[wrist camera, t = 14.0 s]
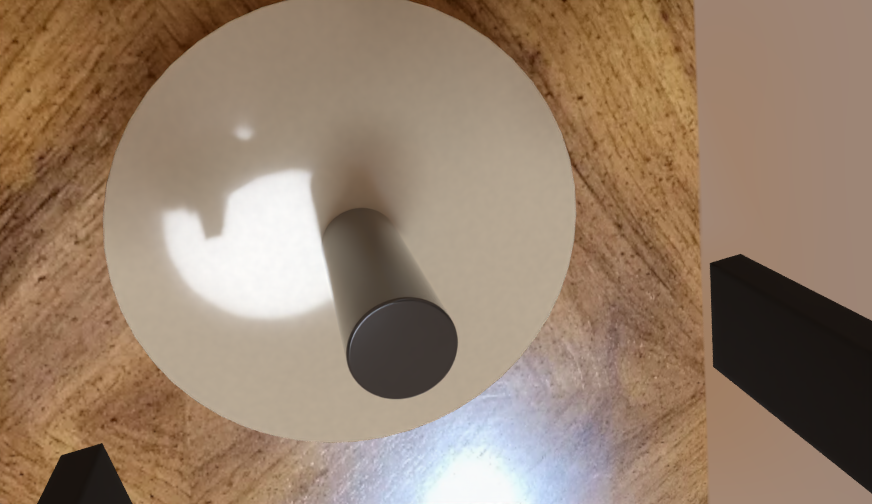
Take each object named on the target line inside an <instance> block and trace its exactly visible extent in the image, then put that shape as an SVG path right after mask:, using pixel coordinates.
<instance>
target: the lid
mask: <svg viewBox="0 0 872 504" xmlns="http://www.w3.org/2000/svg"><path fill="white" fill-rule="evenodd" d="M575 221H576V202H575V185H574V179H573V174H572V169H571V163H570V158H569V155H568V152H567V149H566V146H565V142H564V139H563V136H562V133H561V131H560V129H559V126H558V124H557V122H556V120H555V118H554V116H553V114H552V112H551V110H550V108H549V106H548V104H547V103H546V101H545V100H544V98H543V97H542V95H541V94H540V92H539V91H538V89H537V87H536V86H535V84H534V83H533V81H532V80H531V79H530V78H529V77H528V76H527V75H526V73H525V72H524V71H523V70H522V69H521V68H520V67H519V65H518V64H517V63H516V62H515V61H514V60H513V59H512V58H511V57H510V56H509V55H508V54H507V53H505V52H504V51H503V50H502V49H501V48H500V47H498V46H497V45H496V44H495V43H494V42H493V41H491V40H490V39H489V38H488V37H486V36H484V35H483V34H481V33H480V32H478V31H477V30H475V29H473V28H472V27H470V26H469V25H467V24H466V23H464V22H463V21H461V20H458V19H456V18H454V17H452V16H450V15H447V14H445V13H443V12H441V11H439V10H437V9H434V8H432V7H429V6H425V5H422V4H419V3H415V2H412V1H408V0H285V1H282V2H278V3H275V4H271V5H268V6H264V7H261V8H259V9H256V10H254V11H252V12H250V13H247V14H245V15H243V16H241V17H238V18H236V19H234V20H232V21H229V22H228V23H226V24H224V25H223V26H221V27H220V28H218V29H217V30H215V31H213V32H212V33H210V34H209V35H207V36H205V37H204V38H202V39H201V40H199V41H198V42H196V43H195V44H194V45H193V46H192V47H191V48H189V49H188V50H187V51H186V52H185V53H184V54H182V55H181V56H180V57H179V58H178V59H177V60H175V61H174V62H173V63H172V64H171V65H170V66H169V67H168V68H167V69H166V71H165V72H164V73H163V74H162V75H161V76H160V78H159V79H158V80H157V81H156V82H155V83H154V84H153V86H152V87H151V88H150V89H149V90H148V91H147V93H146V95H145V96H144V98H143V99H142V101H141V102H140V104H139V106H138V107H137V109H136V110H135V112H134V114H133V115H132V117H131V118H130V120H129V122H128V124H127V126H126V129H125V131H124V133H123V135H122V138H121V140H120V142H119V144H118V147H117V149H116V151H115V154H114V158H113V162H112V166H111V169H110V173H109V177H108V180H107V184H106V192H105V201H104V210H103V236H104V252H105V257H106V262H107V267H108V272H109V278H110V282H111V285H112V287H113V290H114V293H115V296H116V299H117V301H118V304H119V307H120V310H121V312H122V314H123V316H124V317H125V319H126V321H127V323H128V325H129V327H130V329H131V331H132V333H133V335H134V336H135V338H136V339H137V341H138V342H139V343H140V345H141V346H142V348H143V349H144V350H145V352H146V353H147V354H148V356H149V357H150V359H151V360H152V361H153V362H154V363H155V365H156V366H157V367H158V368H159V369H160V370H161V371H162V372H163V373H164V374H165V375H166V376H167V377H168V378H169V379H170V380H171V381H172V382H173V383H174V384H175V385H176V386H178V387H179V388H180V389H181V390H183V391H184V392H185V393H186V394H188V395H189V396H190V397H191V398H193V399H194V400H195V401H197V402H198V403H200V404H202V405H203V406H205V407H207V408H208V409H210V410H212V411H213V412H215V413H217V414H218V415H220V416H222V417H224V418H226V419H229V420H231V421H233V422H235V423H237V424H240V425H242V426H244V427H246V428H250V429H253V430H256V431H259V432H263V433H266V434H269V435H272V436H277V437H282V438H288V439H293V440H299V441H309V442H323V443H337V442H357V441H364V440H370V439H377V438H383V437H387V436H391V435H395V434H398V433H402V432H406V431H410V430H412V429H415V428H417V427H420V426H423V425H425V424H428V423H430V422H433V421H435V420H437V419H439V418H441V417H443V416H445V415H447V414H449V413H451V412H453V411H455V410H457V409H459V408H460V407H462V406H463V405H465V404H466V403H468V402H469V401H471V400H472V399H474V398H475V397H477V396H478V395H480V394H481V393H482V392H484V391H485V390H486V389H487V388H489V387H490V386H491V385H492V384H493V383H495V382H496V381H497V380H498V379H500V378H501V377H502V376H503V375H504V374H505V373H506V372H507V371H508V370H509V369H510V368H511V366H512V365H513V364H514V363H515V362H516V361H517V360H518V359H519V358H520V357H521V356H522V354H523V353H524V352H525V351H526V349H527V348H528V347H529V345H530V344H531V343H532V342H533V340H534V339H535V338H536V336H537V335H538V333H539V331H540V330H541V328H542V326H543V325H544V323H545V322H546V320H547V318H548V317H549V315H550V313H551V311H552V308H553V306H554V304H555V302H556V300H557V298H558V296H559V294H560V291H561V288H562V285H563V282H564V279H565V276H566V273H567V270H568V267H569V263H570V258H571V253H572V248H573V243H574V234H575Z"/></svg>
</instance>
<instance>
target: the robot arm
mask: <svg viewBox="0 0 872 504" xmlns="http://www.w3.org/2000/svg"><path fill="white" fill-rule="evenodd" d="M710 278H711V310H712V311H711V312H712V342H713V367H714V368H715V369H717V370H718V371H719V372H720V373H722V374H723V375H724V376H725V377H727V378H728V379H729V380H730V381H732V382H733V383H734V384H735V385H737V386H738V387H739V388H740V389H742V390H743V391H744V392H746V393H747V394H748V395H749V396H750V397H752V398H753V399H754V400H756V401H757V402H758V403H759V404H761V405H762V406H763V407H764V408H766V409H767V410H768V411H769V412H770V413H772V414H773V415H774V416H775V417H777V418H778V419H779V420H780V421H782V422H783V423H784V424H785V425H787V426H788V427H789V428H791V429H792V430H793V431H794V432H795V433H797V434H798V435H799V436H800V437H802V438H803V439H804V440H805V441H807V442H808V443H809V444H811V445H812V446H813V447H814V448H816V449H817V450H818V451H819V452H821V453H822V454H823V455H824V456H826V457H827V458H828V459H829V460H831V461H832V462H833V463H835V464H836V465H837V466H838V467H839V468H841V469H842V470H843V471H844V472H846V473H847V474H848V475H849V476H851V477H852V478H853V479H854V480H856V481H857V482H858V483H859V484H861V485H862V486H863V487H864V488H866V489H867V490H868V491H869V492H871V493H872V321H871V320H869V319H867V318H865V317H863V316H861V315H859V314H857V313H856V312H853V311H852V310H850V309H848V308H846V307H844V306H842V305H840V304H838V303H836V302H834V301H832V300H830V299H828V298H826V297H824V296H822V295H820V294H818V293H816V292H814V291H812V290H810V289H808V288H806V287H804V286H802V285H800V284H798V283H796V282H795V281H793V280H791V279H789V278H787V277H785V276H783V275H781V274H779V273H777V272H775V271H773V270H771V269H769V268H767V267H765V266H763V265H761V264H759V263H757V262H755V261H753V260H751V259H749V258H747V257H745V256H744V255H742V254H739V255H735V256H732V257H729V258H725V259H722V260H719V261H716V262H712V263H710ZM37 504H132V502H131V500H130V498H129V496H128V494H127V492H126V490H125V488H124V486H123V484H122V482H121V480H120V478H119V476H118V474H117V472H116V470H115V468H114V466H113V464H112V462H111V460H110V458H109V456H108V454H107V452H106V450H105V448H104V446H103V444H102V443H101V444H98V445H95V446H91V447H88V448H85V449H81V450H78V451H74V452H71V453H68V454H64V455H61V457H60V459H59V461H58V463H57V465H56V467H55V469H54V471H53V473H52V475H51V477H50V479H49V481H48V483H47V485H46V487H45V489H44V491H43V493H42V495H41V497H40V499H39V501H38V503H37Z"/></svg>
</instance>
